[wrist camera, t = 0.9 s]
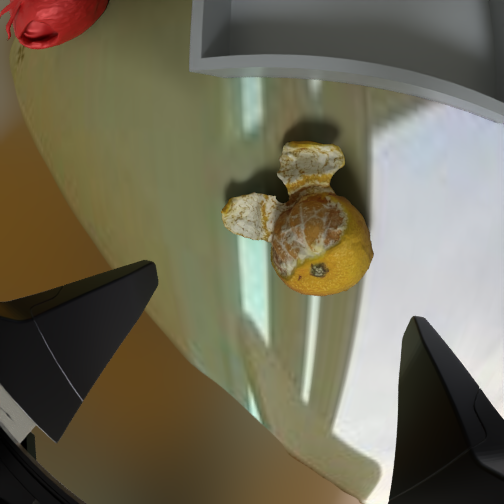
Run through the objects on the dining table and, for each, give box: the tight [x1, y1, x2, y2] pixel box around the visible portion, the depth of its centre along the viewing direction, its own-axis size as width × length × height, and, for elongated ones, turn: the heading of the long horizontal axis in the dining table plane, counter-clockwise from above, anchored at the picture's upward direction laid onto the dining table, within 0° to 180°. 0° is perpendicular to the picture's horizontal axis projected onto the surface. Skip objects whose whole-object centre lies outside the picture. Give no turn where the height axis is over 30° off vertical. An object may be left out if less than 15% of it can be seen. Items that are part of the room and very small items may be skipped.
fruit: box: [221, 141, 374, 296], centre depth 15 cm, size 8×8×4 cm
